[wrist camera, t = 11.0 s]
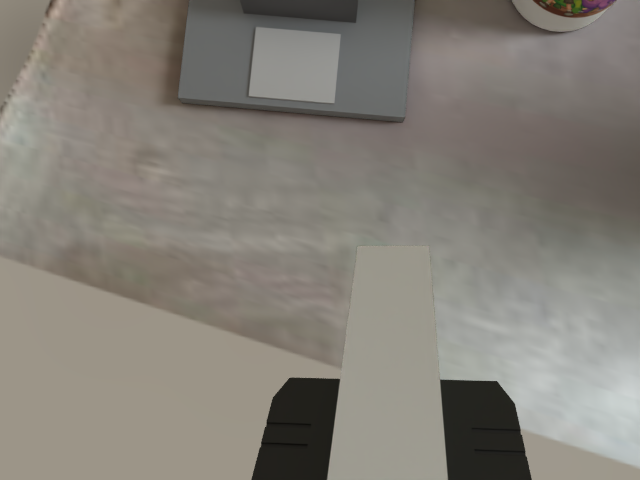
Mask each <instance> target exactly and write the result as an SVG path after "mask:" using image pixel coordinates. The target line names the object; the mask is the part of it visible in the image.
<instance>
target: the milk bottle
mask: <svg viewBox="0 0 640 480" xmlns="http://www.w3.org/2000/svg"><path fill="white" fill-rule="evenodd" d="M615 1H616V0H512V2H513V4H514V5H515V7H516V9H517V11H518V12H519V13H520V14H521V15H522V16H523V17H524V18H525V19H526V20H528V21H529V22H530V23H531V24H533V25H535V26H537V27H539V28H542V29H546V30H549V31H557V32H565V31H573V30H577V29H581V28H583V27H585V26H588V25H589V24H591V23H593V22H594V21H595V20H597V19H598V18H599V17H600V16H601V15H602V14H603V13H604V12H605V11H606V10H607V9H608V8H609V7H610V6H611V5H612V4H613V3H614V2H615Z"/></svg>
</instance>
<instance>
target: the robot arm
mask: <svg viewBox="0 0 640 480" xmlns="http://www.w3.org/2000/svg"><path fill="white" fill-rule="evenodd" d="M252 480H532V479H531V475H530V470H529V465H528V461H527V457H526V456H525V448H524V443H523V439H522V435H521V433H520V425H519V421H518V416H517V412H516V407H515V404H514V402H513V401H512V400H511V398H510V397H509V396H508V395H507V393H506V392H505V391H504V390H503V388H502V387H501V386H500V385H499V383H498V382H497V381H466V380H440V374H439V362H438V349H437V336H436V324H435V311H434V298H433V286H432V273H431V261H430V248H429V246H357V254H356V262H355V269H354V277H353V285H352V292H351V300H350V308H349V315H348V323H347V331H346V338H345V346H344V354H343V361H342V369H341V377H340V379H322V378H321V379H319V378H289V379H288V381H287V382H286V383H285V384H284V385H283V386H282V388H281V389H280V390H279V391H278V392H277V394H276V395H275V396H274V397H273V400H272V403H271V407H270V411H269V415H268V419H267V426H266V427H265V430H264V434H263V438H262V442H261V447H260V449H259V453H258V457H257V461H256V464H255V469H254V472H253V476H252Z"/></svg>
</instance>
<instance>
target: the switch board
mask: <svg viewBox="0 0 640 480" xmlns="http://www.w3.org/2000/svg"><path fill="white" fill-rule="evenodd" d="M414 5H415V0H189V5H188V14H187V22H186V31H185V40H184V48H183V57H182V65H181V74H180V83H179V91H178V99H179V100H180V101H181V102H182V103H189V104H200V105H212V106H223V107H235V108H246V109H258V110H269V111H281V112H292V113H304V114H315V115H326V116H338V117H349V118H361V119H372V120H384V121H395V122H403V121H404V119H405V111H406V100H407V88H408V76H409V64H410V52H411V40H412V28H413V16H414Z"/></svg>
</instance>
